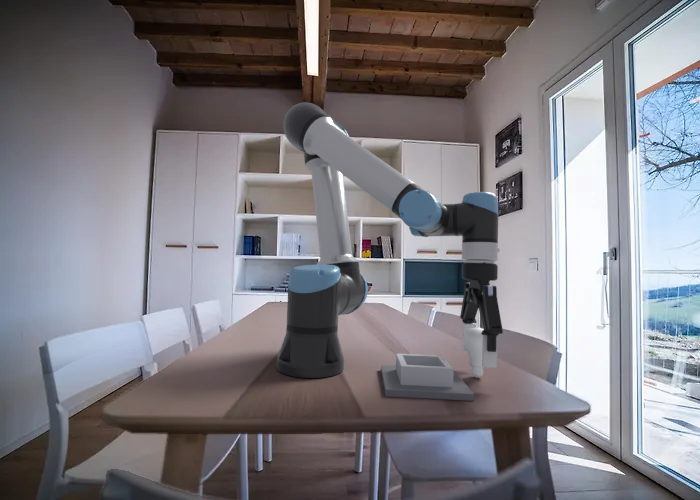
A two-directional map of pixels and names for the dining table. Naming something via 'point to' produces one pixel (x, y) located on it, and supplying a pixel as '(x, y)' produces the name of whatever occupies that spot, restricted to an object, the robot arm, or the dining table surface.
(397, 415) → the dining table surface
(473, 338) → the lightbulb
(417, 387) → the lamp socket
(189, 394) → the dining table surface
